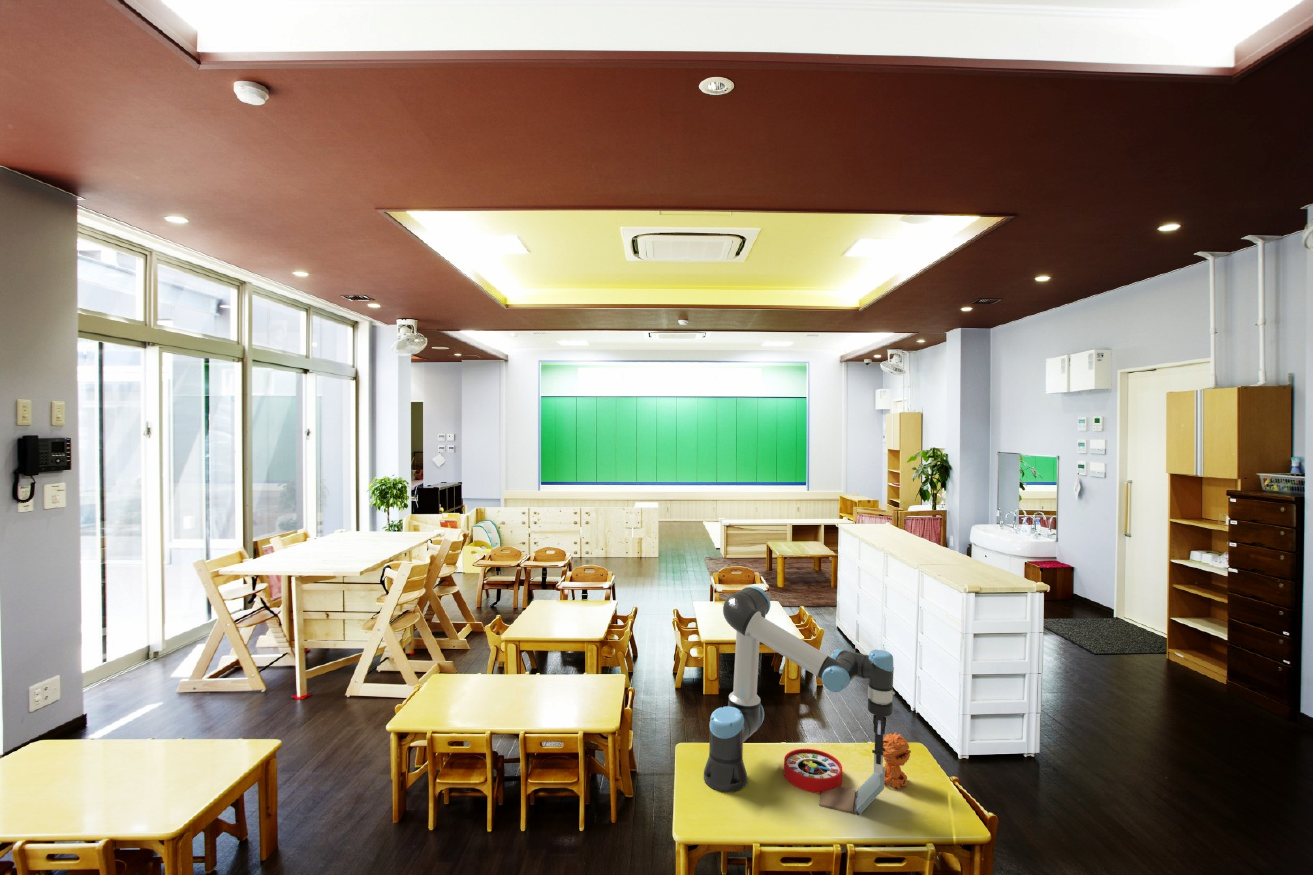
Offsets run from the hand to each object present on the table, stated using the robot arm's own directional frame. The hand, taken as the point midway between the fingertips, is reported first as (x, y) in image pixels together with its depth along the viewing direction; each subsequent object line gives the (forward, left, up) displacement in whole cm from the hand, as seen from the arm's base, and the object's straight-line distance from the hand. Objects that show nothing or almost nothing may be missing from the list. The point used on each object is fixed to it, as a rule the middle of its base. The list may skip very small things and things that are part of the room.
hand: (878, 771), depth 202 cm
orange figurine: (+5, +18, -13) cm, 23 cm away
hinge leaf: (-2, 0, -7) cm, 7 cm away
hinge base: (-12, 0, -13) cm, 17 cm away
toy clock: (-22, +10, -13) cm, 28 cm away
